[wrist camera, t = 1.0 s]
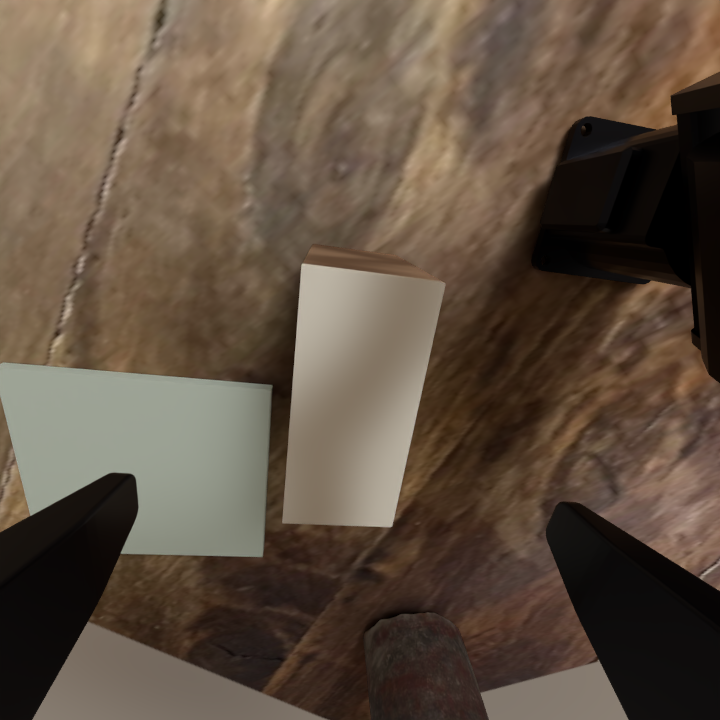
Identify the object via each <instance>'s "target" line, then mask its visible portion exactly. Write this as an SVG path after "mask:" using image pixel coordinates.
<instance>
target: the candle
mask: <svg viewBox="0 0 720 720" xmlns="http://www.w3.org/2000/svg"><path fill="white" fill-rule="evenodd" d="M363 639H364V650H365V661H366V670H367V682H368V692H369V703H370V713H371V720H489V719H488V716H487V713H486V709H485V707H484V703H483V700H482V697H481V694H480V691H479V688H478V685H477V682H476V678H475V675H474V672H473V669H472V666H471V664H470V661H469V657H468V654H467V651H466V648H465V645H464V642H463V639H462V637H461V634H460V631H459V629H458V628H457V627H456V626H455V625H454V624H453V623H452V622H450V621H449V620H448V619H445V618H444V617H443V616H440V615H438V614H436V613H429V612H426V613H417V614H400V615H398V616H396V617H393V618H389V619H381V620H379V621H378V622H377V624H376V625H375V626H373V627H372V628H371V629H369V630H367V631H366V632H365V633H364V636H363Z"/></svg>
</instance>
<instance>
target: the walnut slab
mask: <svg viewBox="0 0 720 720" xmlns="http://www.w3.org/2000/svg"><path fill="white" fill-rule="evenodd" d="M445 284H446V283H444V282H442V281H440V280H438V279H437V278H435V277H433V276H431V275H430V274H428V273H426V272H424V271H423V270H421V269H419V268H417V267H416V266H414V265H412V264H410V263H409V262H407V261H405V260H403V259H402V258H400V257H398V256H396V255H391V254H383V253H376V252H368V251H361V250H354V249H346V248H339V247H331V246H324V245H317V244H313V245H312V247H311V248H310V250H309V252H308V254H307V256H306V258H305V260H304V262H303V263H302V266H301V279H300V292H299V306H298V319H297V332H296V346H295V359H294V372H293V386H292V399H291V412H290V426H289V439H288V452H287V466H286V479H285V492H284V506H283V519H282V523H290V524H317V525H345V526H373V527H392V525H393V521H394V516H395V511H396V507H397V502H398V498H399V493H400V489H401V484H402V480H403V475H404V471H405V466H406V462H407V457H408V452H409V448H410V443H411V439H412V434H413V430H414V425H415V421H416V416H417V412H418V407H419V402H420V398H421V393H422V389H423V384H424V380H425V375H426V371H427V366H428V362H429V357H430V353H431V348H432V343H433V339H434V334H435V330H436V325H437V321H438V316H439V312H440V307H441V303H442V298H443V293H444V289H445Z"/></svg>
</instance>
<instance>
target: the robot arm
mask: <svg viewBox="0 0 720 720" xmlns="http://www.w3.org/2000/svg"><path fill="white" fill-rule="evenodd" d="M671 107H672V115H677V125H674V126H670V127H666V128H662V129H659V130H656V129H651V128H646V127H641V126H636V125H631V124H626V123H621V122H616V121H611V120H606V119H601V118H596V117H591V116H590V117H584V118H582V119H579V120H577V121H576V122H575V123H574V124H573V125H572V127H571V129H570V132H569V136H568V139H567V142H566V146H565V149H564V152H563V156H562V159H561V162H560V164H559V165H558V166H557V167H556V170H555V173H554V177H553V180H552V184H551V187H550V190H549V194H548V197H547V201H546V204H545V207H544V211H543V214H542V217H541V221H540V224H541V229H540V233H539V236H538V240H537V243H536V246H535V250H534V253H533V256H532V266H533V267H534V268H535V269H538V270H542V271H548V272H556V273H563V274H570V275H578V276H585V277H592V278H600V279H607V280H614V281H621V282H629V283H636V284H646V283H649V282H650V281H651V280H652V281H657V282H662V283H667V284H672V285H678V286H683V287H688V288H691V293H692V305H693V317H694V328H693V329H692V330H691V336H692V343H693V345H695V346H696V347H697V348H698V349H699V350H701V354H702V359H703V362H704V364H705V367H706V369H707V371H708V374H709V375H710V376H711V377H713V378H714V379H715V380H716V381H718V382H719V383H720V72H718V73H716V74H714V75H712V76H710V77H708V78H706V79H704V80H701V81H699V82H697V83H695V84H693V85H691V86H689V87H687V88H685V89H683V90H681V91H679V92H677V93H675V94H673V95H671ZM582 126H585V128H586V134H585V135H584V136H582V134H581V128H582ZM544 255H545V256H546V261H545V263H543V264H541V259H542V257H543V256H544ZM138 508H139V505H138V494H137V483H136V478H135V476H134V475H133V474H130V473H116V472H114V473H109V474H107V475H105V476H103V477H101V478H99V479H97V480H95V481H94V482H92V483H90V484H88V485H86V486H84V487H83V488H81V489H79V490H77V491H75V492H73V493H72V494H70V495H68V496H66V497H64V498H62V499H61V500H59V501H57V502H55V503H53V504H51V505H50V506H48V507H46V508H44V509H42V510H40V511H39V512H37V513H35V514H33V515H31V516H29V517H28V518H26V519H24V520H22V521H20V522H18V523H17V524H15V525H13V526H11V527H9V528H7V529H6V530H4V531H2V532H0V720H32V719H33V717H34V715H35V714H36V712H37V710H38V708H39V707H40V705H41V703H42V701H43V700H44V698H45V696H46V694H47V692H48V691H49V689H50V687H51V686H52V684H53V682H54V680H55V678H56V677H57V675H58V673H59V671H60V670H61V668H62V666H63V664H64V663H65V661H66V659H67V657H68V656H69V654H70V652H71V650H72V648H73V647H74V645H75V643H76V641H77V640H78V638H79V636H80V634H81V633H82V631H83V629H84V627H85V626H86V624H87V622H88V620H89V618H90V617H91V615H92V613H93V611H94V609H95V607H96V606H97V604H98V602H99V600H100V598H101V596H102V594H103V591H104V589H105V587H106V585H107V583H108V580H109V578H110V576H111V574H112V572H113V569H114V567H115V565H116V563H117V560H118V558H119V556H120V554H121V551H122V549H123V547H124V545H125V542H126V540H127V538H128V536H129V533H130V531H131V529H132V527H133V525H134V522H135V520H136V517H137V514H138ZM546 538H547V541H548V544H549V546H550V549H551V551H552V554H553V556H554V559H555V561H556V564H557V567H558V569H559V572H560V574H561V577H562V579H563V582H564V584H565V587H566V589H567V592H568V594H569V597H570V599H571V602H572V604H573V606H574V609H575V611H576V613H577V616H578V618H579V620H580V622H581V624H582V626H583V628H584V630H585V632H586V634H587V636H588V638H589V640H590V642H591V644H592V646H593V648H594V650H595V653H596V655H597V657H598V659H599V661H600V663H601V664H602V667H603V669H604V670H605V673H606V675H607V677H608V679H609V681H610V683H611V685H612V687H613V689H614V691H615V693H616V695H617V697H618V699H619V701H620V703H621V705H622V707H623V709H624V711H625V713H626V715H627V717H628V719H629V720H720V591H719V590H717V589H716V588H714V587H712V586H711V585H709V584H708V583H706V582H704V581H703V580H701V579H700V578H698V577H696V576H695V575H693V574H692V573H690V572H688V571H687V570H685V569H684V568H682V567H680V566H679V565H677V564H676V563H674V562H672V561H671V560H669V559H668V558H666V557H664V556H663V555H661V554H660V553H658V552H657V551H655V550H653V549H652V548H650V547H649V546H647V545H645V544H644V543H642V542H641V541H639V540H637V539H636V538H634V537H633V536H631V535H629V534H628V533H626V532H625V531H623V530H621V529H620V528H618V527H617V526H615V525H613V524H612V523H610V522H609V521H607V520H605V519H604V518H602V517H601V516H599V515H598V514H596V513H594V512H593V511H591V510H590V509H588V508H586V507H585V506H583V505H582V504H580V503H576V502H560V503H558V504H557V505H556V507H555V509H554V512H553V514H552V516H551V518H550V521H549V523H548V525H547V528H546Z"/></svg>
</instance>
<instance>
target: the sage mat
mask: <svg viewBox="0 0 720 720" xmlns="http://www.w3.org/2000/svg"><path fill="white" fill-rule="evenodd" d="M272 388H273V385H266V384H254V383H243V382H231V381H219V380H207V379H195V378H183V377H171V376H159V375H147V374H135V373H123V372H111V371H99V370H88V369H76V368H64V367H52V366H40V365H28V364H16V363H1V364H0V396H1V400H2V404H3V408H4V412H5V416H6V420H7V424H8V428H9V432H10V436H11V440H12V444H13V448H14V452H15V456H16V460H17V464H18V468H19V472H20V476H21V480H22V484H23V488H24V492H25V496H26V500H27V504H28V508H29V512H30V516H31V515H33V514H35V513H37V512H39V511H40V510H42V509H44V508H46V507H48V506H50V505H51V504H53V503H55V502H57V501H59V500H61V499H62V498H64V497H66V496H68V495H70V494H72V493H73V492H75V491H77V490H79V489H81V488H83V487H84V486H86V485H88V484H90V483H92V482H94V481H95V480H97V479H99V478H101V477H103V476H105V475H107V474H109V473H114V472H116V473H130V474H133V475H134V476H135V478H136V483H137V494H138V505H139V508H138V514H137V517H136V520H135V522H134V525H133V527H132V529H131V531H130V533H129V536H128V538H127V540H126V542H125V545H124V547H123V549H122V551H121V554H155V555H198V556H241V557H263V551H264V539H265V520H266V501H267V482H268V464H269V445H270V426H271V407H272Z"/></svg>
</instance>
